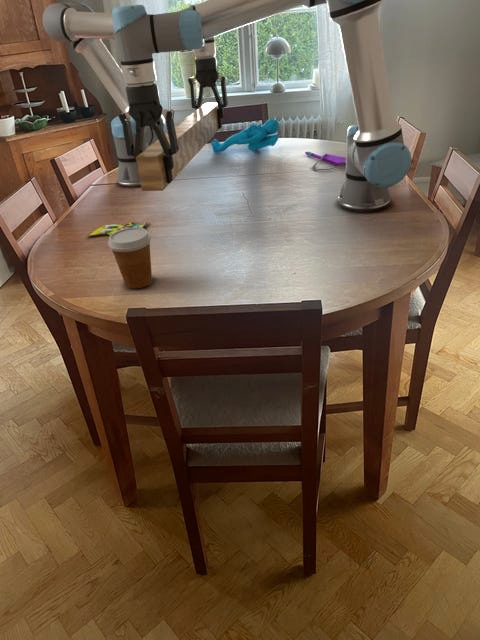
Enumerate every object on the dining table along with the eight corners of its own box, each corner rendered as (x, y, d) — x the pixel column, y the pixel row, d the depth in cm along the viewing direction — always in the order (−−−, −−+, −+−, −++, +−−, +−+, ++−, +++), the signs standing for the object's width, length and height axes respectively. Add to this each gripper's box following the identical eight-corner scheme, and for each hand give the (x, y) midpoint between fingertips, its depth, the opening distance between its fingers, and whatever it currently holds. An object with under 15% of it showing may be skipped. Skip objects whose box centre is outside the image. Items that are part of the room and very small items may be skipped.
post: (207, 127, 183) (205, 103, 179) (222, 126, 182) (220, 102, 178) (142, 191, 122) (135, 157, 117) (163, 190, 121) (157, 156, 116)
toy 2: (216, 133, 217) (279, 113, 206) (223, 156, 222) (286, 138, 212) (206, 142, 203) (273, 121, 193) (214, 166, 208) (280, 148, 198)
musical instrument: (342, 175, 173) (362, 153, 185) (341, 169, 172) (361, 148, 184) (283, 174, 186) (305, 153, 198) (282, 169, 184) (305, 148, 196)
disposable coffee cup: (110, 289, 111) (98, 241, 105) (132, 270, 119) (122, 225, 112) (145, 294, 108) (135, 245, 101) (166, 275, 115) (157, 228, 109)
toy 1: (137, 233, 137) (87, 234, 139) (137, 236, 137) (88, 237, 139) (147, 220, 145) (100, 221, 147) (147, 223, 146) (101, 224, 148)
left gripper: (176, 60, 164) (185, 131, 177) (229, 56, 161) (234, 129, 173) (182, 57, 170) (190, 126, 183) (233, 54, 167) (238, 125, 179)
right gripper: (97, 89, 111) (119, 187, 124) (174, 83, 108) (189, 185, 120) (110, 84, 117) (130, 178, 130) (183, 79, 114) (196, 176, 126)
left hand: (211, 127), depth 178 cm, fingers closed on post, 6 cm apart
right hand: (158, 181), depth 125 cm, fingers closed on post, 6 cm apart
